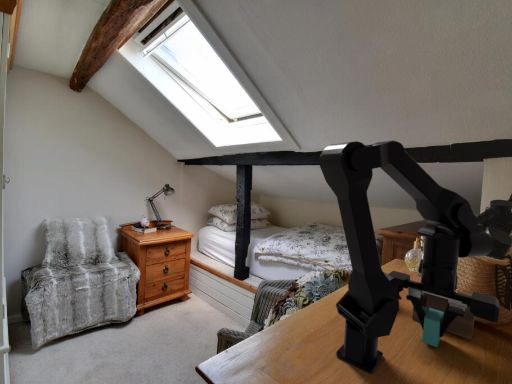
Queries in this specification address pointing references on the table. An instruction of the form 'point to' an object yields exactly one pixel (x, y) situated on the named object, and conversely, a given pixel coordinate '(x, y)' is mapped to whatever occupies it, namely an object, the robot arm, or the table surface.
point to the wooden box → (459, 324)
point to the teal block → (432, 327)
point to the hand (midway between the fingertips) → (432, 333)
